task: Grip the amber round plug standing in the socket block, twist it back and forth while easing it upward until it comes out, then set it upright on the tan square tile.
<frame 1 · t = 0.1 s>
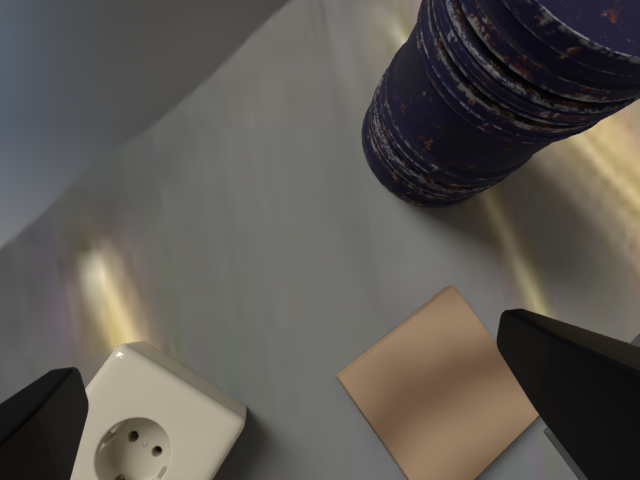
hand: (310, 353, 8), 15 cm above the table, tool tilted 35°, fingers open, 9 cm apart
tan square tile: (437, 391, 23), on the table
storage jar: (427, 143, 27), on the table
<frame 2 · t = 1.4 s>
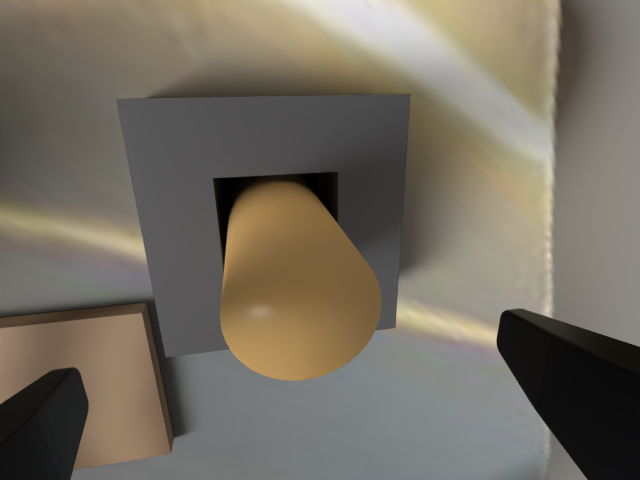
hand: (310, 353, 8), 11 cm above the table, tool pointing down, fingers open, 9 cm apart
socket block: (272, 206, 19), on the table
amber plug: (283, 242, 14), in the socket block
tan square tile: (69, 388, 20), on the table
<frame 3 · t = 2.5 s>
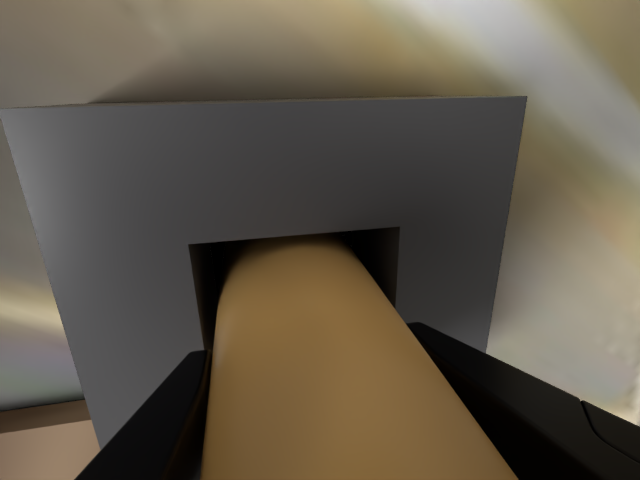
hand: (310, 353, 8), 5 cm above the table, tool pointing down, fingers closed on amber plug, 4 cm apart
socket block: (284, 259, 13), on the table
amber plug: (309, 351, 8), in the socket block, touching gripper
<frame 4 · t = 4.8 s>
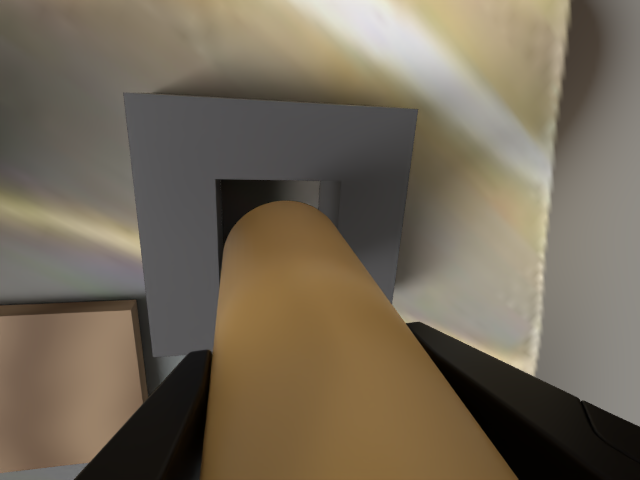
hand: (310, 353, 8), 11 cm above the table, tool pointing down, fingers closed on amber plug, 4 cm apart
socket block: (271, 210, 19), on the table
amber plug: (309, 350, 8), point 11 cm above the table, touching gripper
tan square tile: (49, 382, 19), on the table
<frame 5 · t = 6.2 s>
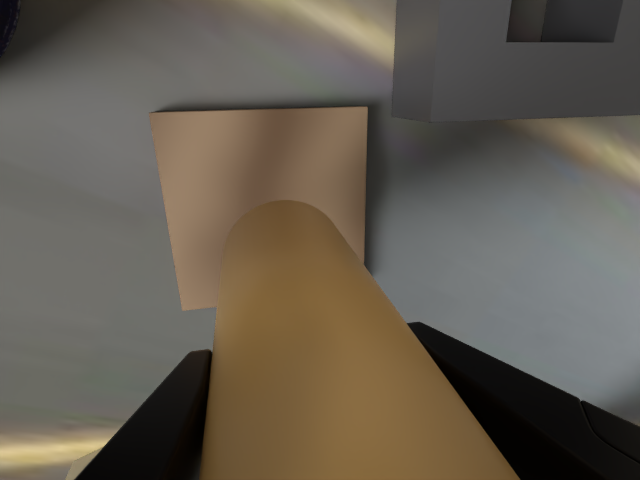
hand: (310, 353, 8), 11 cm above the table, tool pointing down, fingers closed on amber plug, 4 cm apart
amber plug: (309, 350, 8), point 11 cm above the table, touching gripper
tan square tile: (269, 207, 19), on the table
when the fingers open (7 cm above the table, at t = 7.3 s): amber plug drops 1 cm, resting on tan square tile.
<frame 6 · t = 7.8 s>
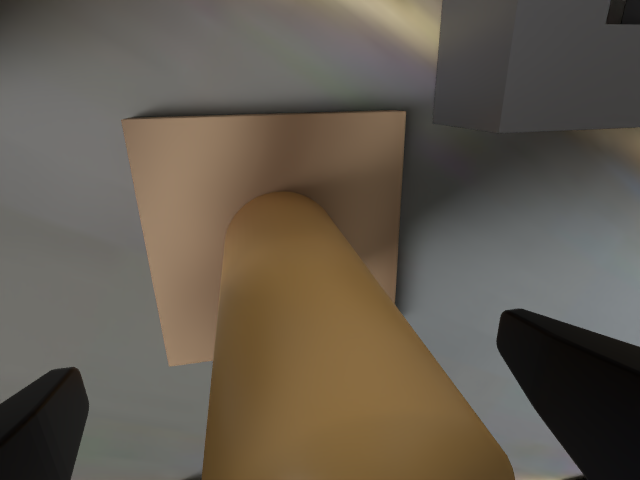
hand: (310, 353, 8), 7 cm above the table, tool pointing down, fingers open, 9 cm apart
amber plug: (303, 320, 9), on the tan square tile, point 6 cm above the table
tan square tile: (277, 237, 15), on the table
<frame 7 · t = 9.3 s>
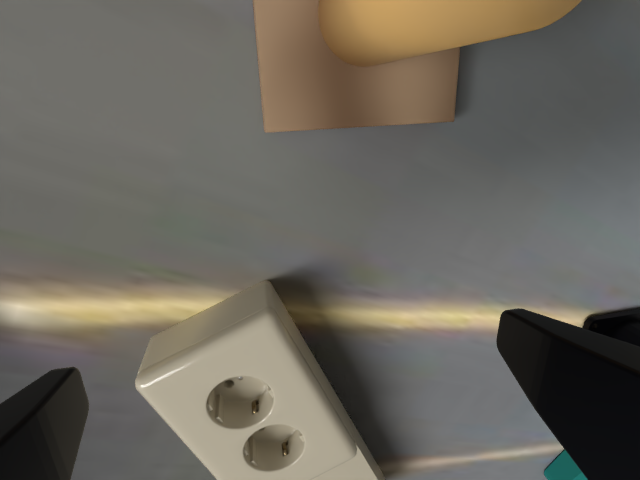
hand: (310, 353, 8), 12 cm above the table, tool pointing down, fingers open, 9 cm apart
electrical outlet: (281, 409, 25), on the table
digital multimeter: (608, 464, 34), on the table
tan square tile: (357, 19, 17), on the table
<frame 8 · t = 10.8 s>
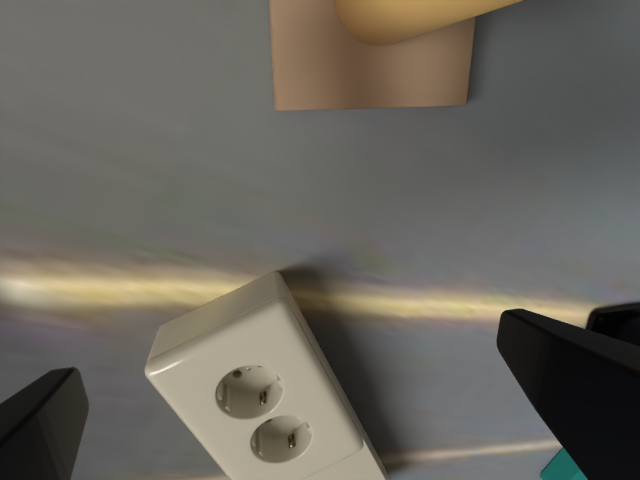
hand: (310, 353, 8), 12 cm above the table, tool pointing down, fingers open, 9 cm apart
electrical outlet: (287, 403, 25), on the table
digital multimeter: (608, 461, 34), on the table
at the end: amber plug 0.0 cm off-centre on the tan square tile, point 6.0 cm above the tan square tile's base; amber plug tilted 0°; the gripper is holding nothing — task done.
